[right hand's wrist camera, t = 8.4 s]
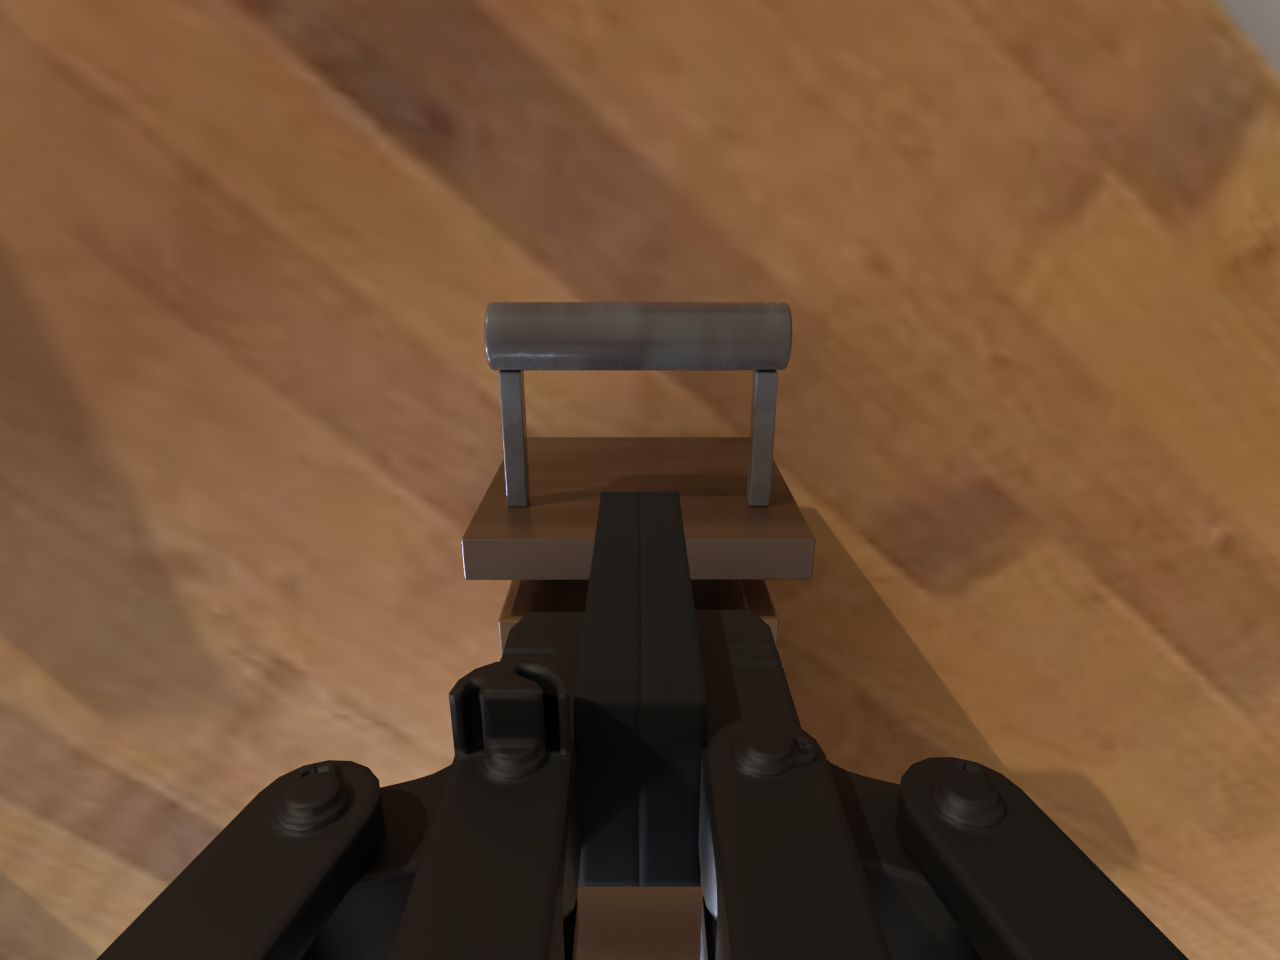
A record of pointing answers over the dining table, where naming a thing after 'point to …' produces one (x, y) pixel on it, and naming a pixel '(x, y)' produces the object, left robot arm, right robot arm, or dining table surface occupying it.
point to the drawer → (637, 457)
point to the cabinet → (639, 923)
